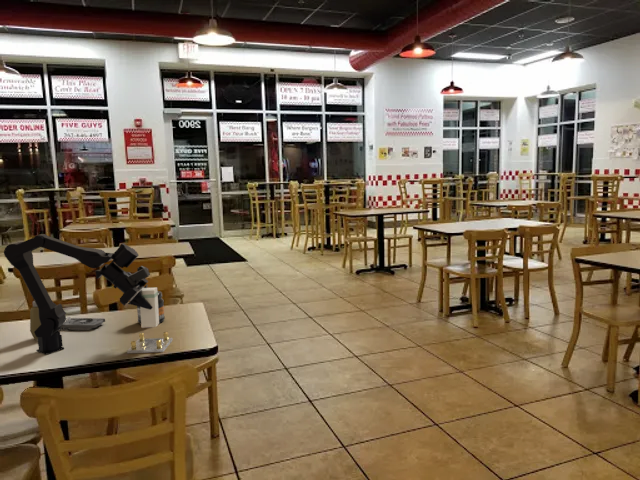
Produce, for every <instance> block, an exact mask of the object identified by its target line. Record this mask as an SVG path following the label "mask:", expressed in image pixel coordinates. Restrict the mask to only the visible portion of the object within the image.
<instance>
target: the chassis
mask: <svg viewBox="0 0 640 480" xmlns="http://www.w3.org/2000/svg"><path fill="white" fill-rule="evenodd" d="M138 334H139V335H138V336H139V337H138V338H137V340H131V341H130V347H129V348H128V349H127V350H126V354H147V353H164V351H165V350H166V349H167V348H168V347H169V345H170V344H171V343H172V342H173V337H169V332H168V331H164V332H163V333H162V335H163V337H157V338H154V337H153V338H152V337H151V338H145V333H144V332H140V333H138Z"/></svg>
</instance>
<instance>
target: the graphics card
mask: <svg viewBox="0 0 640 480" xmlns="http://www.w3.org/2000/svg"><path fill="white" fill-rule="evenodd" d="M105 322H106V318H103V317H102V318H99V317H97V318H96V317H95V318H93V317H89V318H88V317H71V316H66V319H65V322H64V323H63V324H62V325H61V328H60V329H59V330H58V331H61V330H62V331H69V330H70V331H74V330H75V331H88V330H89V331H90V330H92V329H95V328H99V327H100V326H101V325H103V323H105Z"/></svg>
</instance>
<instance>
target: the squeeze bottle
mask: <svg viewBox="0 0 640 480" xmlns="http://www.w3.org/2000/svg"><path fill="white" fill-rule="evenodd" d="M29 313H30V314H29V315H30V316H29V317H30V318H29V319H30V321H29V324H30V325H29V332H30V335H32V337H33V339H34V340H35V341H38V337H36V335H35V333H34V331H35V330H36V329H37V328H38V327H39V326H40V325H41V323H40V320H39V310H38V306H37V304H36V303H35V301H34V300H33V301H32V307H31V308H30V312H29Z"/></svg>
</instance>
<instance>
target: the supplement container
mask: <svg viewBox="0 0 640 480" xmlns="http://www.w3.org/2000/svg"><path fill="white" fill-rule="evenodd" d="M157 291H158V311H159V324H161V323H163V322H164V321H165V319H166V317H165V306H164V304H165V303H164V302H165V301H164V300H165V299H163V298H162V297H163V292H162V291H159V290H157ZM136 310H137V323H138V324H139V325H141V312H140V307H139V306H136Z"/></svg>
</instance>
